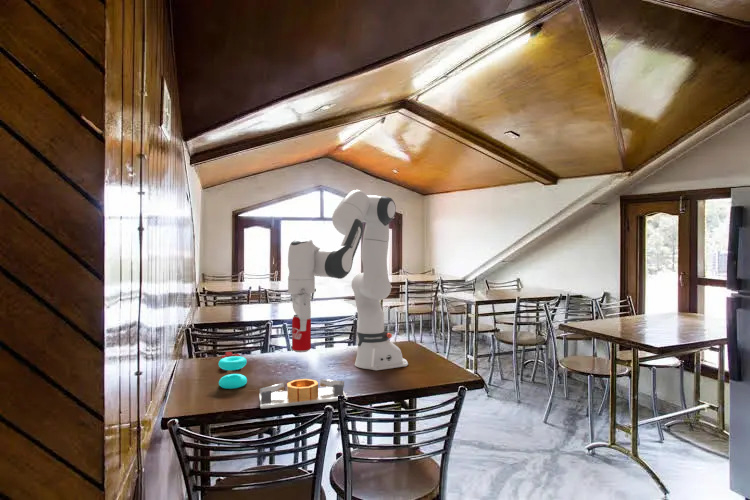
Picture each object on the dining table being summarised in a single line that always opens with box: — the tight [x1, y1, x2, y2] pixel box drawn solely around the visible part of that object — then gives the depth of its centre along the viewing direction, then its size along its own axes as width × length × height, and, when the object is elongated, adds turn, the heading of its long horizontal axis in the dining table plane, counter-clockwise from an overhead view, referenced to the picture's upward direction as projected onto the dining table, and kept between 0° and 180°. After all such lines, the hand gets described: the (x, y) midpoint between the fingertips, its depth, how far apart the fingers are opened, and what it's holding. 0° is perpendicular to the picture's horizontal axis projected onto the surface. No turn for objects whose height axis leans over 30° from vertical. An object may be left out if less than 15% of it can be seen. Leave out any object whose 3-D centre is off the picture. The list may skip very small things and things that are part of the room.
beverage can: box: [291, 314, 312, 353], centre depth 158 cm, size 6×6×12 cm
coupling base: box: [258, 378, 348, 410], centre depth 159 cm, size 28×12×6 cm, turn 105°
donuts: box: [217, 356, 248, 390], centre depth 174 cm, size 10×10×10 cm
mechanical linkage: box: [220, 351, 240, 371], centre depth 201 cm, size 16×7×5 cm, turn 24°
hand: (301, 328), depth 158 cm, fingers closed on beverage can, 6 cm apart
